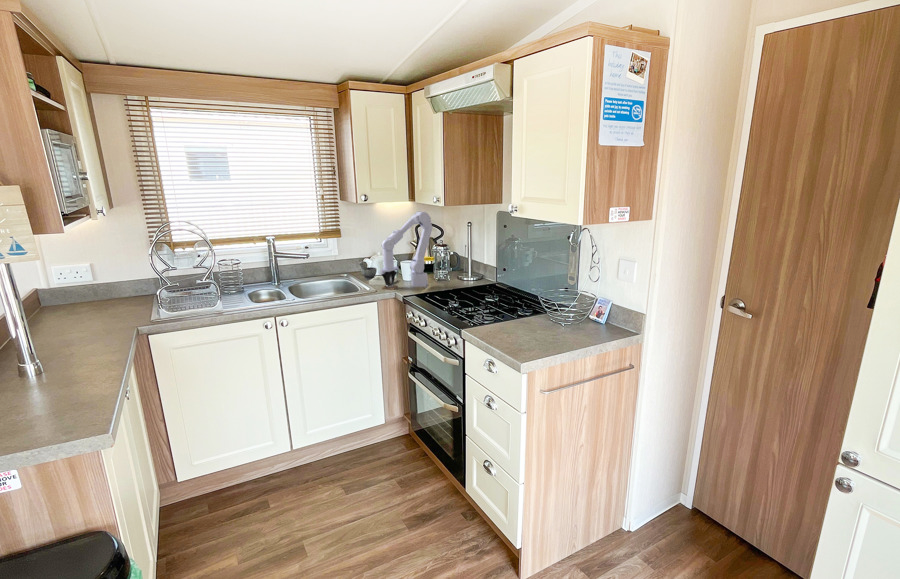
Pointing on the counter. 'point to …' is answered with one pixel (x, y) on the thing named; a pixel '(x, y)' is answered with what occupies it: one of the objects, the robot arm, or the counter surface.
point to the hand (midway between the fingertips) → (389, 284)
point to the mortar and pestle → (368, 271)
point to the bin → (376, 282)
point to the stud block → (390, 288)
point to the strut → (390, 283)
